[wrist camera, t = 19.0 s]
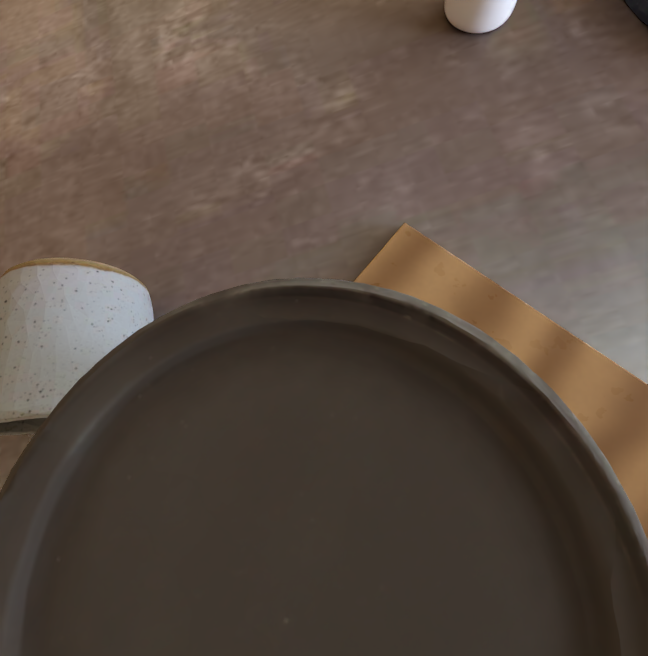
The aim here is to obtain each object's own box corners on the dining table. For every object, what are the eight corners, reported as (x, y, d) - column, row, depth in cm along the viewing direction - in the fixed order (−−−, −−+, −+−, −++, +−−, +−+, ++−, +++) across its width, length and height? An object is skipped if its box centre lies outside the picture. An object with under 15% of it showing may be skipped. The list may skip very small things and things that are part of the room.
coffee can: (441, 570, 17) (860, 1275, 3) (240, 574, 17) (-162, 1172, 4) (418, 366, 19) (585, 253, 6) (244, 375, 20) (17, 293, 6)
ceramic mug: (175, 291, 22) (86, 231, 15) (182, 414, 20) (82, 415, 13) (26, 320, 23) (-131, 276, 15) (18, 444, 21) (-169, 461, 13)
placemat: (736, 450, 18) (754, 452, 17) (531, 810, 15) (541, 832, 14) (403, 226, 22) (405, 220, 22) (196, 466, 20) (190, 468, 19)
